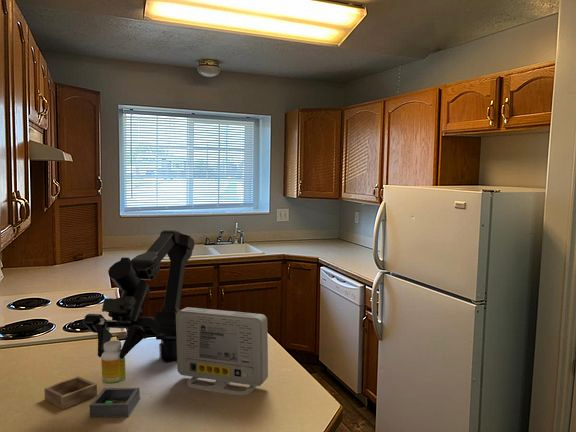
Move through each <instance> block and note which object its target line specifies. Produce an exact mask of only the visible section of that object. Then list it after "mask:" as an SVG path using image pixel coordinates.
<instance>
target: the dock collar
mask: <svg viewBox="0 0 576 432" xmlns="http://www.w3.org/2000/svg"><path fill="white" fill-rule="evenodd" d="M140 392H141V389H140V387H106V388H105V387H104V388H103V389H102V390H101V391H100V392H99V393H98V394H97V396H95V397H94V399H93V400H92V402H91V403H90V404H89V418H93V419H94V418H129V417H130V415H131V414H132V412H133V411H134V410H135V408H136V406H137V404H138V403H139V401H140V400H141V395H140V394H141V393H140ZM115 402H117V403H115ZM118 402H119V403H118ZM121 402H122V403H121ZM124 402H125V403H124Z"/></svg>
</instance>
